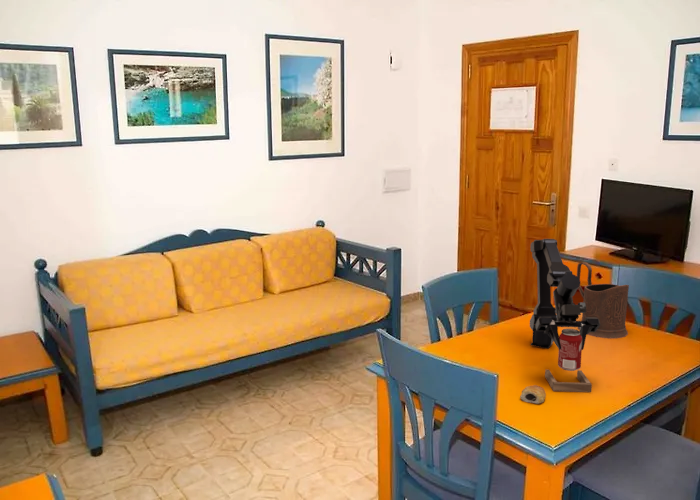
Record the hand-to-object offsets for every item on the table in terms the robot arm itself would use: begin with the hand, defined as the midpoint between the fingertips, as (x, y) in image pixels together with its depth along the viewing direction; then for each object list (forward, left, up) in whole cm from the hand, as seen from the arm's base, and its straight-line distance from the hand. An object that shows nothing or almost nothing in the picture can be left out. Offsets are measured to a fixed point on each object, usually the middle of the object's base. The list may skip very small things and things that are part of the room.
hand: (571, 349), depth 190 cm
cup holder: (-3, +61, -12) cm, 62 cm away
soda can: (0, +1, -7) cm, 7 cm away
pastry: (-7, -14, -13) cm, 20 cm away
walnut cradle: (-1, +1, -12) cm, 12 cm away
